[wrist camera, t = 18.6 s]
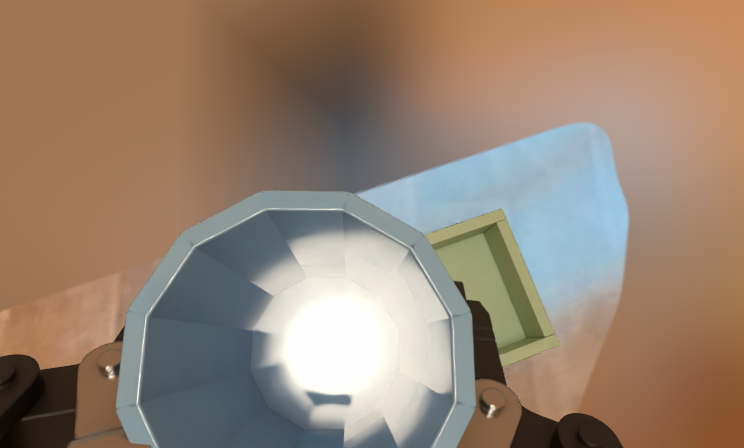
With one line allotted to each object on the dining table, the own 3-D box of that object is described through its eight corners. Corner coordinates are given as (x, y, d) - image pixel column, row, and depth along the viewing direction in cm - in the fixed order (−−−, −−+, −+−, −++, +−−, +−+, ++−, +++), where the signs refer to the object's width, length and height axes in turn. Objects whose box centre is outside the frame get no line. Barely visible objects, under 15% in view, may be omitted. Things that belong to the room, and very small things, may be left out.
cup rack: (538, 344, 32) (560, 345, 28) (291, 439, 30) (283, 452, 26) (486, 221, 34) (502, 208, 30) (250, 303, 32) (238, 299, 28)
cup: (355, 472, 17) (363, 639, 8) (210, 382, 18) (42, 429, 8) (436, 320, 19) (532, 295, 9) (300, 240, 19) (248, 133, 9)
